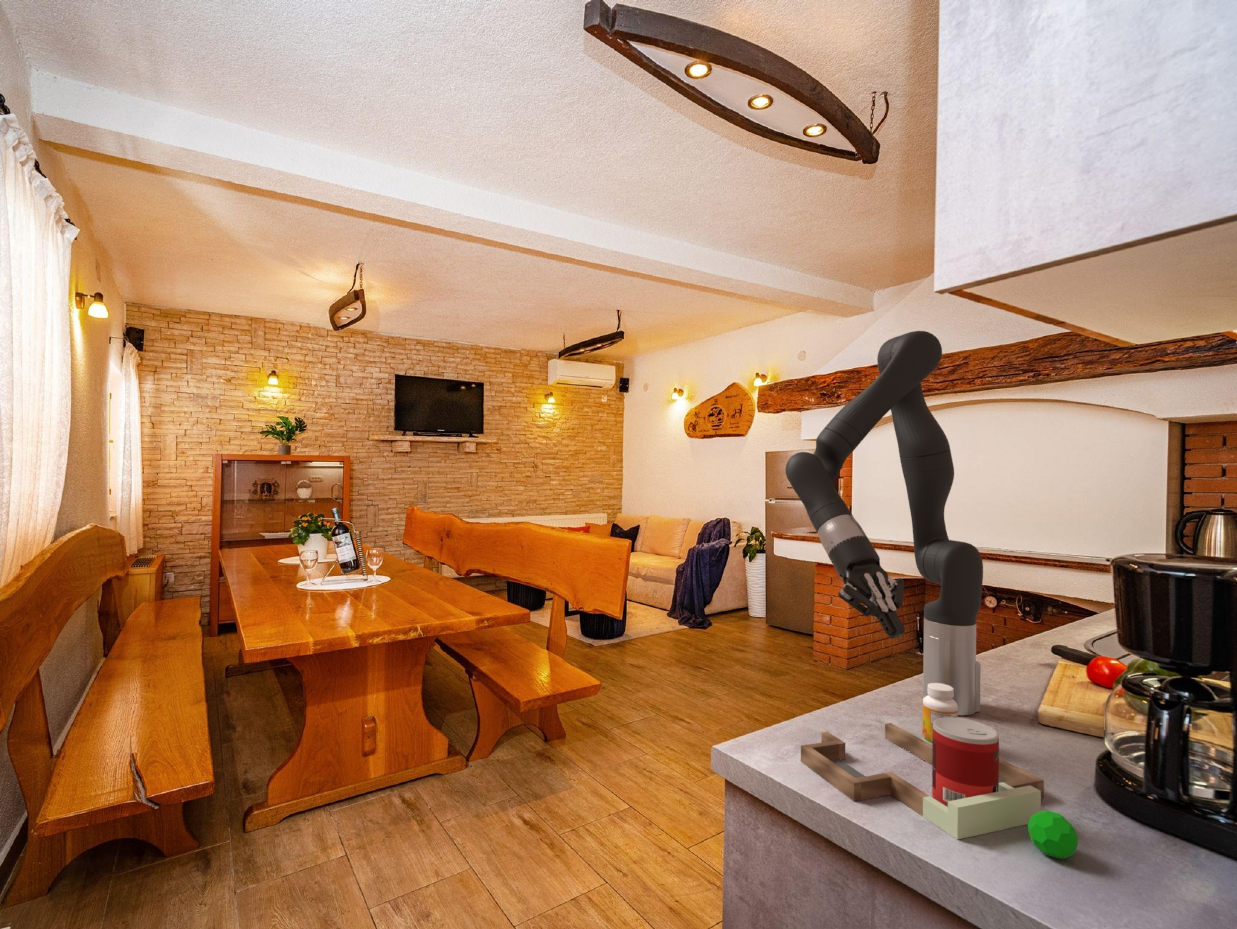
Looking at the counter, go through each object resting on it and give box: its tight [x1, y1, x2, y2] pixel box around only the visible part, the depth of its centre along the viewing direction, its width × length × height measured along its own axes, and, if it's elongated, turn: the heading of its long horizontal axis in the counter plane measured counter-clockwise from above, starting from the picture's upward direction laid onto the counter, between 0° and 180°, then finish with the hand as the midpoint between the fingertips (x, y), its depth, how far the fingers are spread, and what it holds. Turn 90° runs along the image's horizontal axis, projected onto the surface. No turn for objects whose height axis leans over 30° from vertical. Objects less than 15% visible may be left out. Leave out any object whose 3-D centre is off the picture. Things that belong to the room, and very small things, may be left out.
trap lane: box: [800, 722, 1045, 817], centre depth 94 cm, size 23×27×2 cm
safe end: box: [922, 782, 1042, 840], centre depth 82 cm, size 6×14×4 cm, turn 109°
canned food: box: [931, 717, 1000, 807], centre depth 85 cm, size 8×8×11 cm
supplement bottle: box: [921, 683, 959, 745], centre depth 105 cm, size 5×5×10 cm
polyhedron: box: [1027, 809, 1079, 860], centre depth 74 cm, size 5×5×5 cm
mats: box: [830, 758, 1007, 783], centre depth 92 cm, size 17×24×1 cm
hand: (898, 635), depth 98 cm, fingers closed
